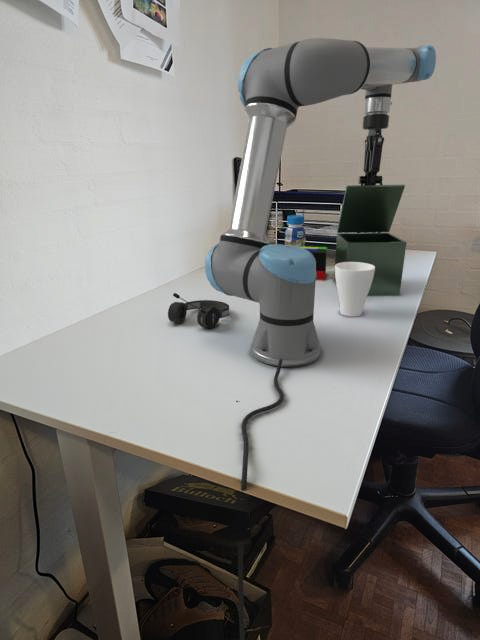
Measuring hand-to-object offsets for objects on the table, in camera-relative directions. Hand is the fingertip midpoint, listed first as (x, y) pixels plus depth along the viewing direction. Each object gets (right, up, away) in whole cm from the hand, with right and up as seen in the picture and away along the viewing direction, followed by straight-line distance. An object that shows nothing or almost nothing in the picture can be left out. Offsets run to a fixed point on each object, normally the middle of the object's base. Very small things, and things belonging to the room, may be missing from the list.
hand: (368, 195), depth 130 cm
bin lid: (0, -5, 0) cm, 5 cm away
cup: (-11, -39, -17) cm, 44 cm away
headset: (-53, -41, -20) cm, 70 cm away
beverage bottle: (-19, -18, +36) cm, 45 cm away
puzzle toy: (-15, -24, +20) cm, 35 cm away
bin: (0, -30, +5) cm, 30 cm away
